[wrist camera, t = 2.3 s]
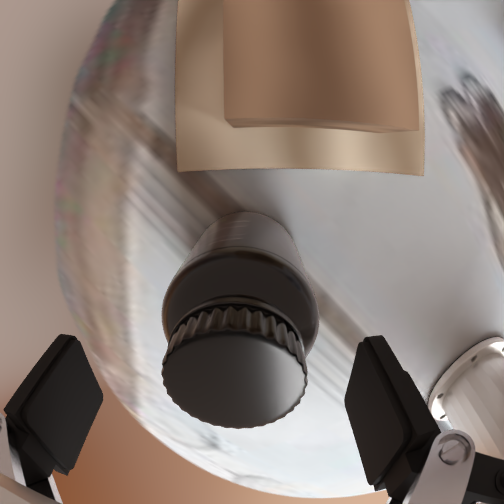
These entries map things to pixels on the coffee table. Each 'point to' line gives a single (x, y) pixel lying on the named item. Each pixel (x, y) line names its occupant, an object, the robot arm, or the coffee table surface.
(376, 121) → the walnut block
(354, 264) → the coffee table surface
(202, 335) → the supplement bottle
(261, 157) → the board
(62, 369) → the robot arm
